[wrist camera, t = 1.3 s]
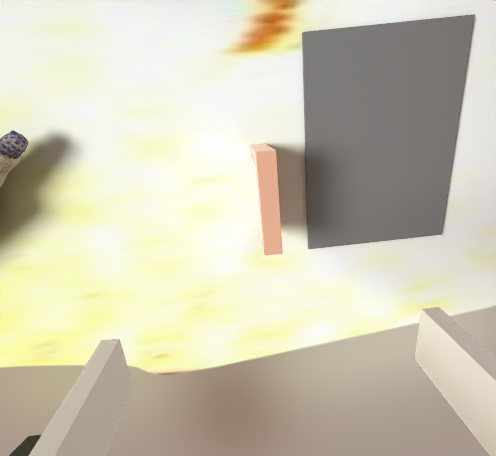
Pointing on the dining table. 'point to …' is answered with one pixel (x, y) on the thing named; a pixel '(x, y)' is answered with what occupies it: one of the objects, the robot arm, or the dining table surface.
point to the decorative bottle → (10, 153)
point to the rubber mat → (381, 127)
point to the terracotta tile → (266, 197)
